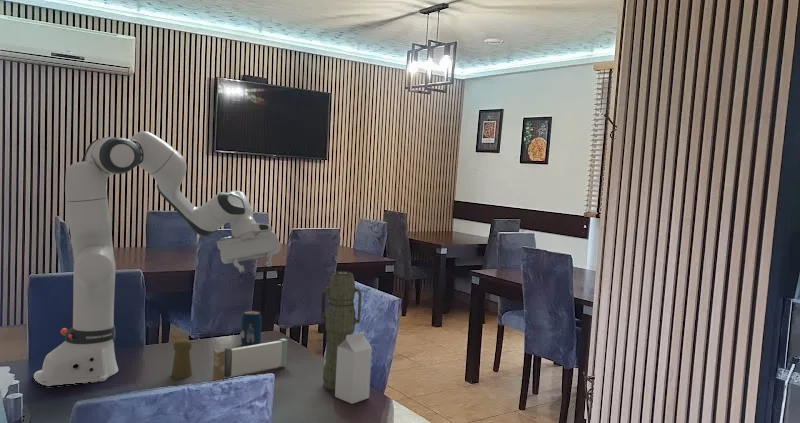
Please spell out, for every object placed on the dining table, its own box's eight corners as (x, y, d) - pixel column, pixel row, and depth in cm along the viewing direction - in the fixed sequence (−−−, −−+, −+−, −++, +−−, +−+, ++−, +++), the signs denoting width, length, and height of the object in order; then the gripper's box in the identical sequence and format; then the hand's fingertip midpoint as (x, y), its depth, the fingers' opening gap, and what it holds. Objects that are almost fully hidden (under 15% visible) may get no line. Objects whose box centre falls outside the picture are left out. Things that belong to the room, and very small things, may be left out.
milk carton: (369, 398, 182) (372, 334, 180) (351, 404, 176) (355, 338, 175) (352, 391, 186) (355, 329, 185) (334, 397, 181) (337, 333, 179)
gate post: (216, 381, 188) (217, 352, 187) (212, 379, 190) (214, 350, 189) (223, 380, 189) (225, 351, 189) (220, 378, 191) (221, 349, 190)
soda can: (255, 341, 232) (256, 309, 231) (264, 345, 226) (265, 313, 225) (237, 343, 227) (238, 311, 226) (246, 348, 222) (247, 315, 221)
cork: (185, 379, 188) (186, 343, 188) (167, 376, 190) (168, 341, 189) (195, 373, 194) (196, 338, 194) (178, 370, 196) (179, 336, 195)
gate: (225, 377, 190) (226, 349, 189) (222, 375, 191) (223, 348, 191) (286, 365, 204) (287, 339, 204) (283, 363, 206) (284, 337, 205)
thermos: (317, 380, 194) (323, 269, 191) (355, 381, 195) (361, 270, 192) (317, 391, 185) (322, 274, 182) (357, 391, 186) (363, 275, 184)
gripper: (215, 234, 210) (225, 270, 204) (275, 224, 219) (286, 258, 213) (214, 243, 215) (224, 279, 209) (272, 233, 224) (283, 266, 218)
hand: (256, 268), depth 211 cm, fingers open, 8 cm apart
